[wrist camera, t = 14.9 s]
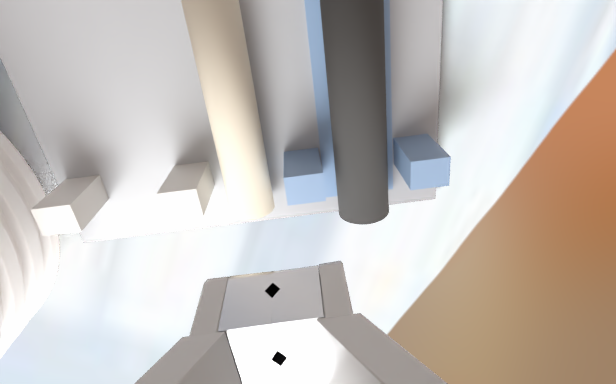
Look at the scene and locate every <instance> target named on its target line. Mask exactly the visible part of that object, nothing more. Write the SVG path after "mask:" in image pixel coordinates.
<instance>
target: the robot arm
mask: <svg viewBox="0 0 616 384" xmlns="http://www.w3.org/2000/svg"><path fill="white" fill-rule="evenodd" d="M319 272H320V273H319ZM135 384H447V383H446V382H445V381H443V380H442V379H441V378H440V377H439V376H437V375H436V374H434V372H432V371H431V370H430V369H429V368H427V367H426V366H425V365H424V364H422V363H421V362H420V361H419V360H418V359H416V358H415V357H414V356H413V355H411V354H410V353H409V352H408V351H406V350H405V349H404V348H402V347H401V346H400V345H399V344H398V343H396V342H395V341H394V340H393V339H392V338H390V337H389V336H388V335H387V334H385V333H384V332H383V331H382V330H380V329H379V328H378V327H377V326H375V325H374V324H373V323H372V322H370V321H369V320H368V319H367V318H366V317H364V316H363V315H362V314H361V313H358V314H353V311H352V306H351V301H350V297H349V292H348V287H347V282H346V277H345V273H344V268H343V263H342V262H341V261H336V262H330V263H324V264H319V267H318V265H316V266H309V267H302V268H295V269H288V270H281V271H271V272H262V273H254V274H245V275H236V276H230V277H221V278H213V279H207V281H206V282H205V283H204V285H203V289H202V292H201V296H200V299H199V303H198V307H197V310H196V314H195V318H194V321H193V325H192V328H191V332H190V336H188V337H182V338H181V339H180V340H179V341H178V342H177V343H176V344H175V345H174V346H173V347H172V348H171V349H170V350H169V351H168V352H167V353H166V354H165V355H164V356H163V357H161V358H160V359H159V360H158V361H157V362H156V363H155V364H154V365H153V366H152V367H151V368H150V369H149V370H148V371H147V372H146V373H145V374H144V375H143V376H142V377H141V378H140V379H139V380H138V381H137V382H136V383H135Z"/></svg>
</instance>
